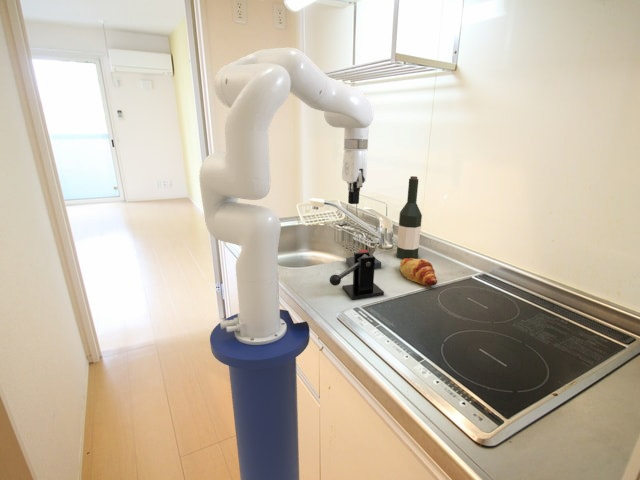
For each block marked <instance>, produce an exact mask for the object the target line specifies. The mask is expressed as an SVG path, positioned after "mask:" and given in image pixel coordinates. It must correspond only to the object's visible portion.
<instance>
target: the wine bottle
mask: <svg viewBox="0 0 640 480" xmlns="http://www.w3.org/2000/svg"><path fill="white" fill-rule="evenodd" d="M407 187H408V189H407V200H406V203H405V205H403V207H402V209H401V210H400V211H399V217H398V230H397V244H396V258H397V259H399V260H401V261H402V260H403V259H406V258H407V259H408V258H413V259H419V249H420V238H421V228H422V219H423V214H422V212H421V209H420V208H419V206H418V204H417V199H418V189H419V178H418V176H417V175H416V176H413V175H411V176H410V177H409V178H408V186H407Z"/></svg>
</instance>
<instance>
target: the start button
mask: <svg viewBox="0 0 640 480" xmlns="http://www.w3.org/2000/svg"><path fill="white" fill-rule="evenodd" d="M358 252H369V253H370V251H369V250H367V249H360V250H359V251H358Z"/></svg>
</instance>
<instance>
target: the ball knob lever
mask: <svg viewBox="0 0 640 480" xmlns="http://www.w3.org/2000/svg"><path fill="white" fill-rule="evenodd" d="M361 257H368V256H367V255H366V254H364V255H362V256H361ZM359 258H360V257H359ZM359 258H358V259H357V260H358V262H357V263H356V264H354V265H353V266H351V267H348V268H347V269H345V270H344V271H342V272H341V273H338V274H332V275H331V276H330V277H329V284H330V285H331V286H334V287H336V286H339V285H340V284H341V282H342V279H343V278H345V277H347V276H348V275H349V274H351V273H353V271H354V270H355V269H357V268H358V267H359Z"/></svg>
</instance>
